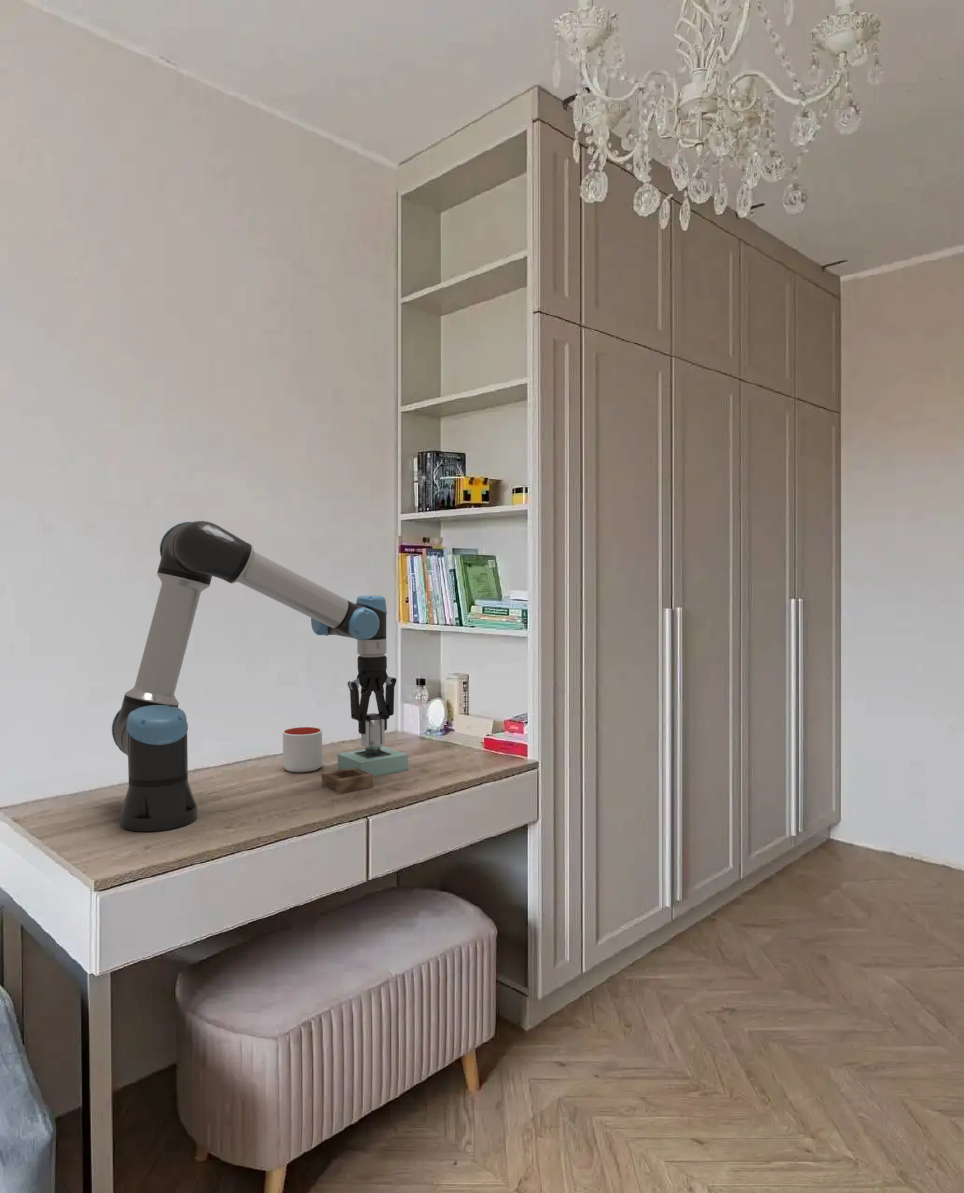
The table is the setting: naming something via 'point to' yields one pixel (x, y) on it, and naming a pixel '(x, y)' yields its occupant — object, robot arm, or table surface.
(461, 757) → the table surface
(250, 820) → the table surface
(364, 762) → the block
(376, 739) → the plug
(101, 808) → the table surface
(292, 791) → the table surface
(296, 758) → the cup
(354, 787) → the brown wooden square tray
